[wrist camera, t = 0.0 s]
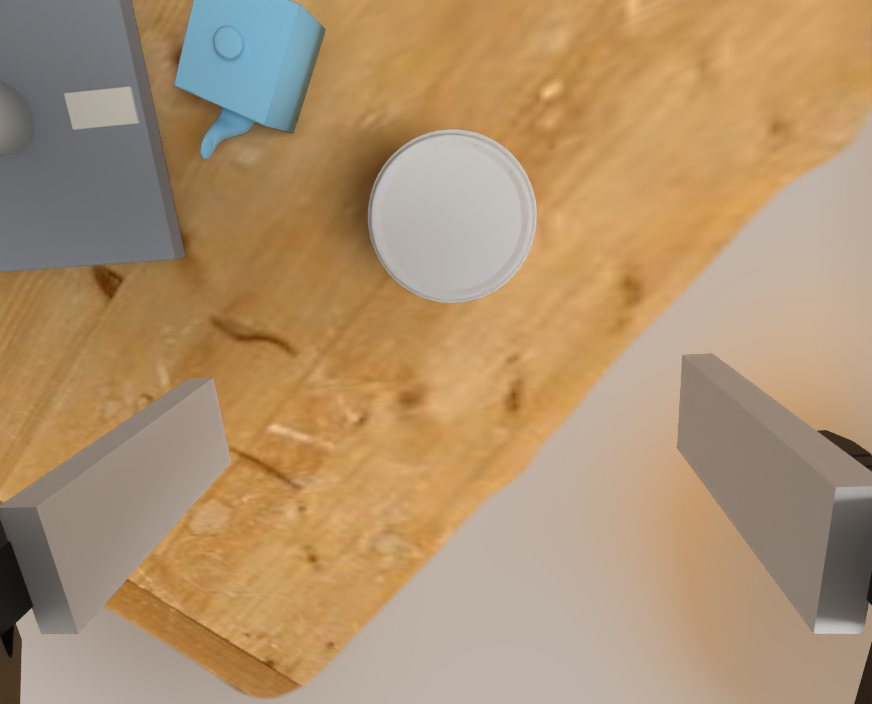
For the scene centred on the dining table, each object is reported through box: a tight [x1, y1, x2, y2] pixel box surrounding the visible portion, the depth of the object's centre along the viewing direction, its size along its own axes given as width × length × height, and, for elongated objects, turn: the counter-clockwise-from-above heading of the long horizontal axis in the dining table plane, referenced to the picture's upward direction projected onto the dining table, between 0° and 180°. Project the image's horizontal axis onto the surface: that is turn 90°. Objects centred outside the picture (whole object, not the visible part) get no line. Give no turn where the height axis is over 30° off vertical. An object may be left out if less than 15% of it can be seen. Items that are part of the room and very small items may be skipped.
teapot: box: [174, 0, 326, 159], centre depth 36 cm, size 12×6×8 cm, turn 157°
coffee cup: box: [368, 129, 537, 303], centre depth 35 cm, size 9×9×12 cm
